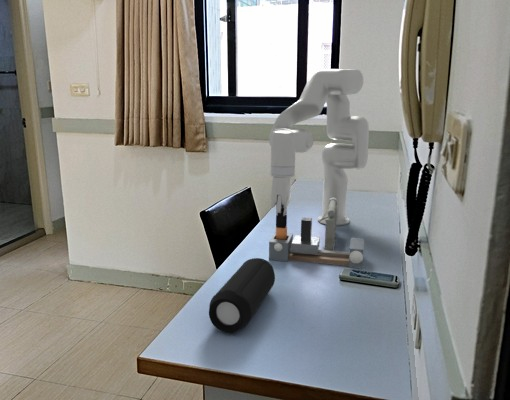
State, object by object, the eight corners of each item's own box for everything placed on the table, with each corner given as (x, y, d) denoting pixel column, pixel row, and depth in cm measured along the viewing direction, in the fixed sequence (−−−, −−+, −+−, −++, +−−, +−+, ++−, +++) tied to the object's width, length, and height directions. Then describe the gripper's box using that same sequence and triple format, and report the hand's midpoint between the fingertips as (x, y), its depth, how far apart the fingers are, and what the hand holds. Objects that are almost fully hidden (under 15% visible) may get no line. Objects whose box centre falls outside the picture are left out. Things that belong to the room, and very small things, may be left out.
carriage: (295, 243, 154) (296, 214, 151) (319, 245, 152) (320, 216, 150) (291, 252, 146) (292, 221, 144) (316, 254, 145) (318, 223, 142)
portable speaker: (242, 286, 128) (242, 252, 126) (277, 291, 126) (278, 257, 123) (205, 332, 105) (204, 292, 102) (247, 340, 102) (247, 298, 100)
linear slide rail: (274, 248, 157) (275, 232, 156) (362, 256, 151) (363, 239, 149) (268, 259, 147) (268, 242, 146) (362, 268, 141) (363, 250, 139)
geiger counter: (339, 211, 151) (340, 193, 175) (319, 210, 153) (323, 192, 176) (336, 251, 155) (338, 229, 179) (317, 250, 156) (322, 227, 180)
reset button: (276, 236, 152) (277, 224, 151) (287, 237, 152) (287, 225, 151) (274, 240, 149) (275, 228, 148) (285, 240, 148) (286, 229, 147)
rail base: (274, 249, 156) (274, 242, 155) (362, 257, 150) (363, 250, 149) (269, 258, 149) (269, 251, 148) (362, 267, 142) (362, 259, 141)
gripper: (275, 166, 153) (274, 219, 157) (265, 174, 138) (264, 233, 143) (298, 167, 151) (296, 221, 155) (290, 176, 137) (289, 235, 141)
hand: (281, 226), depth 149 cm, fingers closed
